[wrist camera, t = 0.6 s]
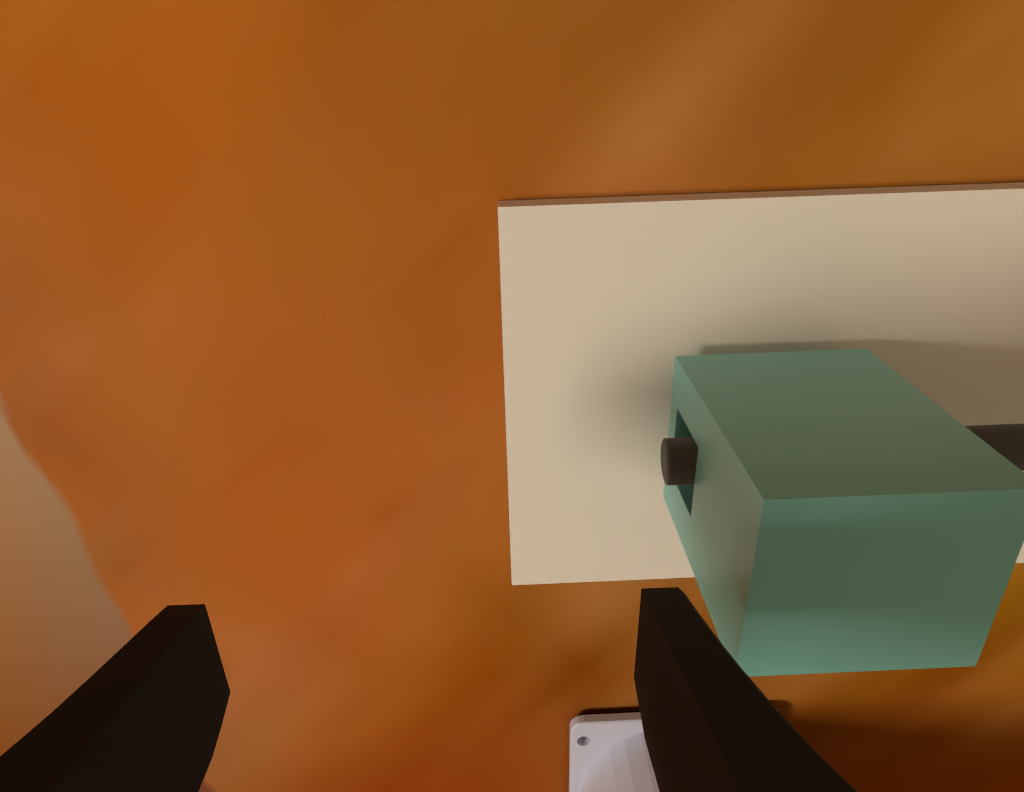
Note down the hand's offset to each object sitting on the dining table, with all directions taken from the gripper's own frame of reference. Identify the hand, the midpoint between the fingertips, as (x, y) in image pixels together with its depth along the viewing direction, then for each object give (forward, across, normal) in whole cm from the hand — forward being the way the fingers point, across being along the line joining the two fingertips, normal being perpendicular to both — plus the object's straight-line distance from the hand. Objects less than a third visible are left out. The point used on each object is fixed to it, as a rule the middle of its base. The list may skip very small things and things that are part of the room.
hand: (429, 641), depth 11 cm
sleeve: (+8, -8, +1) cm, 11 cm away
